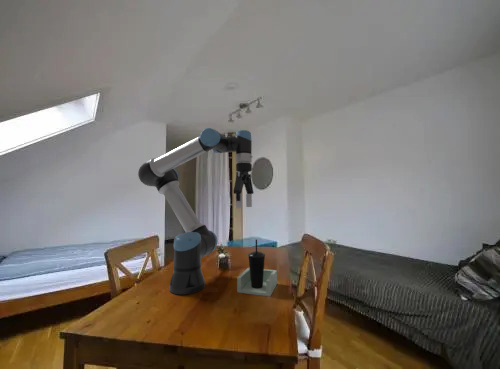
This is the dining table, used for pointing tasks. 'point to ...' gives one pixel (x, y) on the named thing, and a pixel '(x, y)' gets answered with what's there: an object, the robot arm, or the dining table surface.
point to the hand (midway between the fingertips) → (244, 207)
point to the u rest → (266, 290)
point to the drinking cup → (256, 268)
